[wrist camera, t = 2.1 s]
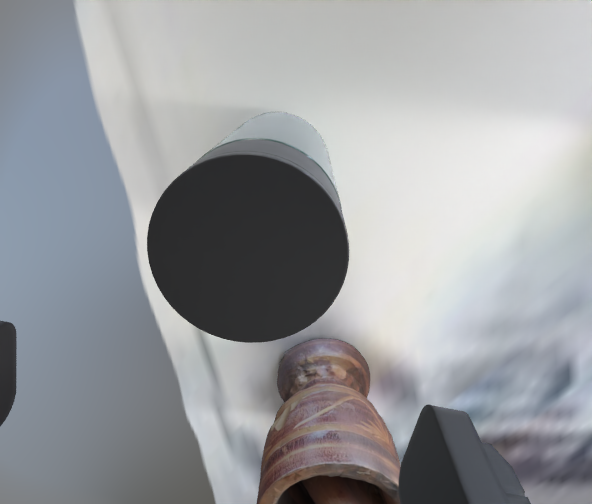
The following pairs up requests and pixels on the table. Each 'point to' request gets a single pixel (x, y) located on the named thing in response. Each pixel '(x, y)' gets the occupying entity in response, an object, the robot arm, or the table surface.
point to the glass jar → (285, 137)
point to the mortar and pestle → (327, 433)
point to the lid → (249, 242)
